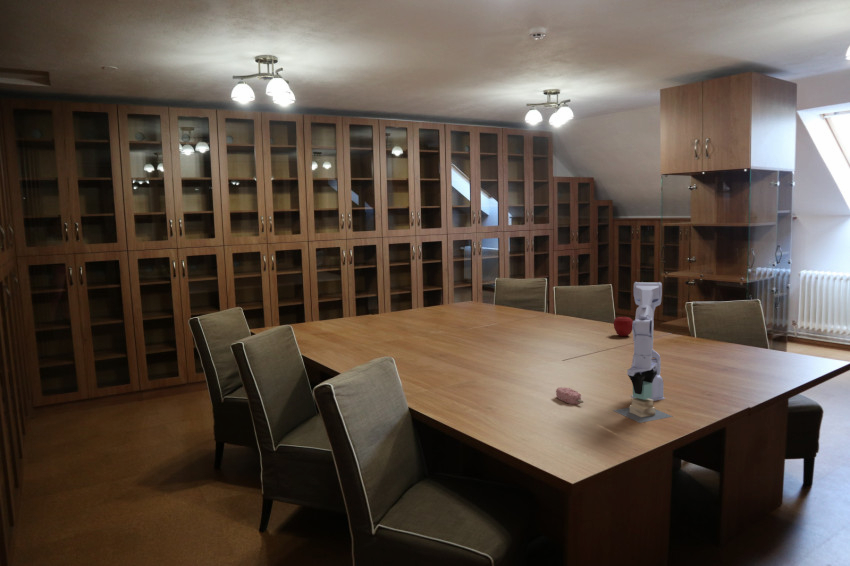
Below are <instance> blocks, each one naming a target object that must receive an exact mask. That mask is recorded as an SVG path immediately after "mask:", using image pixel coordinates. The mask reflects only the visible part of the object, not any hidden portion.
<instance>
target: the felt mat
mask: <svg viewBox="0 0 850 566" xmlns="http://www.w3.org/2000/svg"><path fill="white" fill-rule="evenodd" d="M612 411H613V412H615V413H617V414H620V415H621V416H624V417H626V418H628V419H631V420H633V421H634V422H637V423H639V424H641V423H646V422H648V423H649V422H652V421H656V420H663V419H668V418H672V417H673V415H671V414H668V413H665V412H663V411H661V410H659V409H656V408H655V415H651V416H646V417H640V416H637V415H635V414H633V413H630V406H628V407H625V408H619V409H613V410H612Z"/></svg>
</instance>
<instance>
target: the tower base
mask: <svg viewBox="0 0 850 566" xmlns="http://www.w3.org/2000/svg"><path fill="white" fill-rule="evenodd" d="M629 407H630V413H633V414H635V415H637V416H640V417H646V416H651V415H655V409H656V407H654V406H653V407H651V408H648V409H644V410H643V409H640V408H636V407H633V406H632V404H630V405H629Z"/></svg>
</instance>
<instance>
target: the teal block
mask: <svg viewBox="0 0 850 566" xmlns="http://www.w3.org/2000/svg"><path fill="white" fill-rule="evenodd" d="M632 395H633V397H635V398H639V399H643V400H645V399H648V398H650V397H652V383H650V382H645V381H643V385H642V393H641V394H636V393H635V391H634V387H633V386H632ZM633 397H632V398H633Z"/></svg>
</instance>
